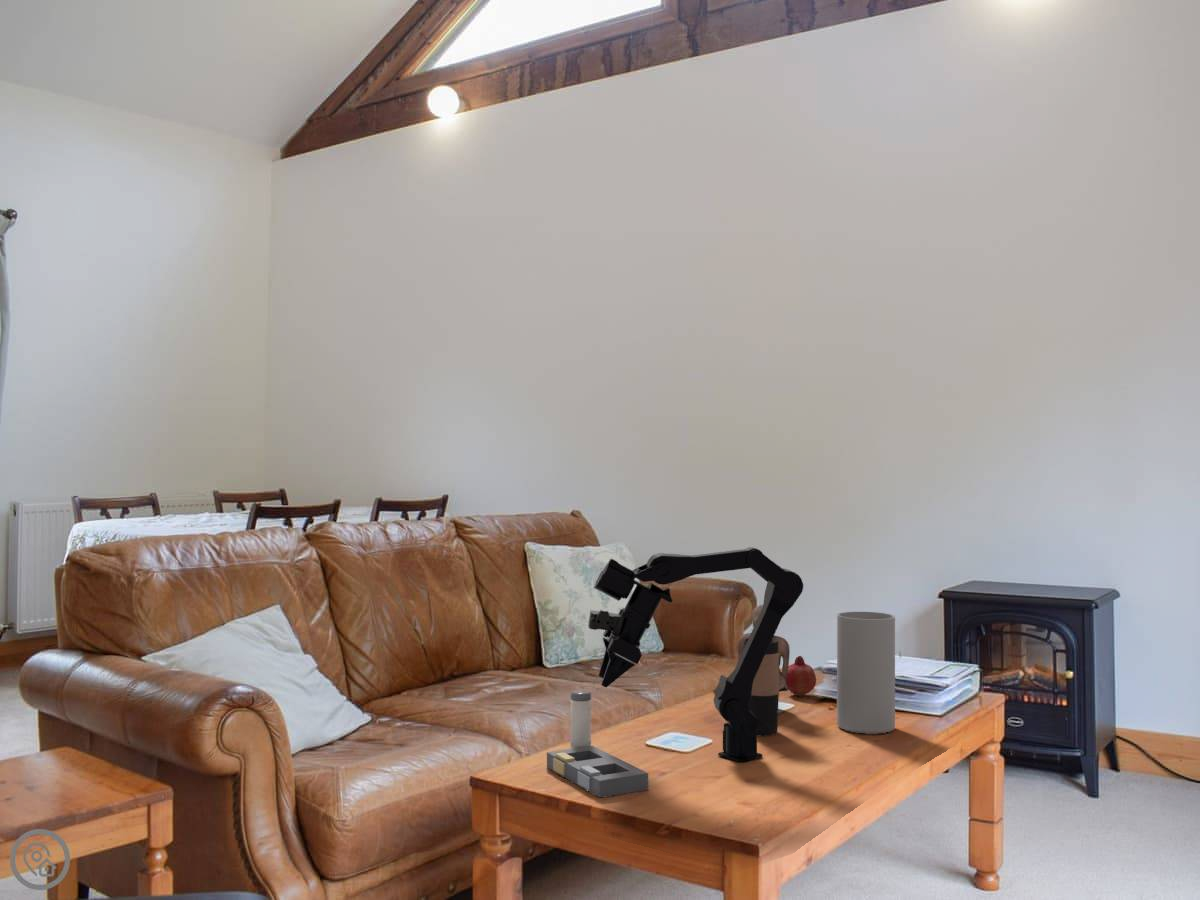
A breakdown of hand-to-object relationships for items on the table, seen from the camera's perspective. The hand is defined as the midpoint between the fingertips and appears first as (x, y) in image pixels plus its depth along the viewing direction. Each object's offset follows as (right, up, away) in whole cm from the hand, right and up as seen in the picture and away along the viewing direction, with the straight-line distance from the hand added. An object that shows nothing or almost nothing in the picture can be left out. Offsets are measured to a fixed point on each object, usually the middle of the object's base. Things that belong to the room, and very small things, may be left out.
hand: (602, 681), depth 212 cm
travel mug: (+35, -16, +21) cm, 44 cm away
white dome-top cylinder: (-4, -15, +2) cm, 16 cm away
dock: (-1, -15, -14) cm, 20 cm away
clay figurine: (+38, -16, +42) cm, 59 cm away
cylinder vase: (+59, -16, +25) cm, 66 cm away
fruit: (+50, -16, +58) cm, 78 cm away
